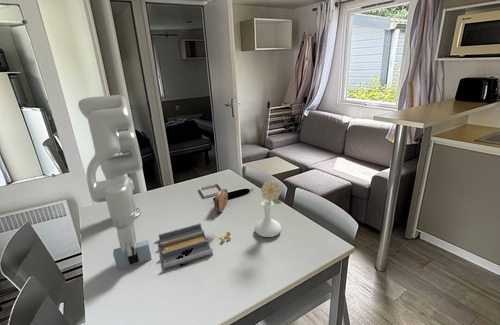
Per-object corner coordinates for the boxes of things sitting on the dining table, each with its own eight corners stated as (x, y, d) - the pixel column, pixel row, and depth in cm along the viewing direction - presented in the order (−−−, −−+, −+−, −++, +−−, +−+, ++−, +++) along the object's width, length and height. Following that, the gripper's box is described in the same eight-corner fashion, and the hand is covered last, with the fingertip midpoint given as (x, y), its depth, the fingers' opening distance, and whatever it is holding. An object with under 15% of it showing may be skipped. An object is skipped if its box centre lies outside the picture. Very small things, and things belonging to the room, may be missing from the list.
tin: (220, 215, 129) (218, 200, 126) (214, 215, 129) (212, 199, 126) (229, 200, 142) (227, 186, 139) (223, 200, 143) (221, 185, 140)
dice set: (230, 234, 115) (229, 230, 114) (233, 241, 110) (232, 237, 110) (218, 237, 113) (218, 233, 113) (221, 244, 109) (220, 240, 108)
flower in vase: (249, 232, 114) (246, 180, 105) (266, 221, 122) (264, 170, 113) (273, 245, 106) (271, 188, 97) (289, 231, 113) (289, 178, 105)
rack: (159, 239, 113) (158, 234, 112) (201, 227, 120) (200, 223, 119) (164, 270, 96) (163, 264, 95) (212, 255, 102) (212, 249, 101)
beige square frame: (199, 189, 156) (199, 187, 156) (218, 185, 160) (218, 183, 160) (204, 198, 146) (203, 195, 145) (224, 193, 150) (224, 190, 149)
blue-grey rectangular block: (117, 264, 100) (113, 249, 98) (151, 254, 105) (147, 239, 102) (117, 269, 98) (113, 254, 95) (151, 259, 102) (148, 244, 100)
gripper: (113, 210, 100) (124, 250, 107) (110, 233, 86) (123, 277, 92) (134, 205, 103) (143, 244, 109) (135, 227, 89) (145, 270, 95)
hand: (134, 259), depth 101 cm, fingers closed on blue-grey rectangular block, 3 cm apart
